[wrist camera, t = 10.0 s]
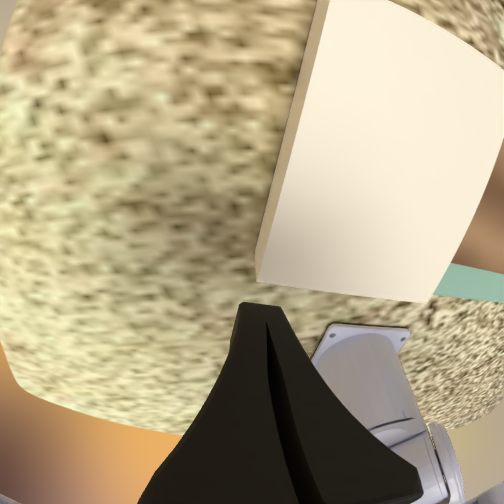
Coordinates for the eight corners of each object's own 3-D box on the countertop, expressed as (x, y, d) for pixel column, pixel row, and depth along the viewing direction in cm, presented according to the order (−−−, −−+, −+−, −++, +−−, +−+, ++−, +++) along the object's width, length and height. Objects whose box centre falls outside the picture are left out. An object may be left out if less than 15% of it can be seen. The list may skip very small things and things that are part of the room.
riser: (410, 277, 22) (426, 303, 19) (254, 252, 20) (256, 282, 18) (488, 75, 14) (518, 82, 11) (319, -7, 12) (334, -21, 9)
